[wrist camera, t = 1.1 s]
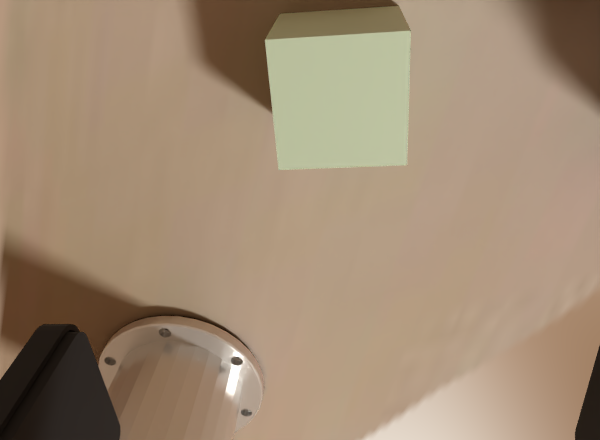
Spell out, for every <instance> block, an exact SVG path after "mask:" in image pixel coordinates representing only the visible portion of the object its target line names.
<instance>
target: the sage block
mask: <svg viewBox="0 0 600 440" xmlns="http://www.w3.org/2000/svg"><path fill="white" fill-rule="evenodd" d="M410 43H411V30H410V28H409V26H408V24H407V22H406V20H405V18H404V16H403V13H402V11H401V9H400V7H399V6H386V7H371V8H356V9H341V10H326V11H312V12H297V13H282V14H279V16H278V18H277V19H276V21H275V23H274V25H273V26H272V28H271V30H270V32H269V33H268V35H267V37H266V39H265V47H266V56H267V65H268V75H269V84H270V94H271V103H272V112H273V122H274V131H275V141H276V150H277V159H278V169H279V170H292V169H319V168H346V167H373V166H399V165H407V151H408V115H409V79H410Z"/></svg>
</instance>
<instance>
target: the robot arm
mask: <svg viewBox="0 0 600 440" xmlns="http://www.w3.org/2000/svg"><path fill="white" fill-rule="evenodd" d="M263 389H264V381H263V374H262V371H261V369H260V366H259V364H258V362H257V360H256V359H255V357H254V356H253V355H252V353H251V352H250V350H248V349H247V348H246V347H245V346H244V345H243V344H242V343H241V342H240V341H239V340H238V339H236V338H235V337H233V336H232V335H230V334H229V333H228V332H226V331H224V330H222V329H220V328H218V327H216V326H214V325H212V324H209V323H206V322H203V321H199V320H196V319H191V318H186V317H180V316H157V317H149V318H144V319H141V320H138V321H135V322H132V323H130V324H128V325H126V326H125V327H123V328H121V329H120V330H119V331H118V332H116V333H115V334H114V335H113V336H112V337H111V339H110V340H109V342H108V343H107V345H106V346H105V348H104V350H103V352H102V354H101V356H100V359H99V364H97V362H96V359H95V356H94V354H93V351H92V348H91V346H90V343H89V340H88V338H87V336H86V334H85V333H84V332H79V330H78V328H77V327H76V326H75V325H73V324H44V325H41V326H40V327H39V328H38V329H37V330H36V331H35V332H34V334H33V335H32V336H31V338H30V339H29V341H28V342H27V343H26V345H25V346H24V348H23V349H22V350H21V352H20V353H19V355H18V356H17V357H16V359H15V360H14V362H13V363H12V364H11V366H10V367H9V369H8V370H7V371H6V373H5V374H4V376H3V377H2V378H1V380H0V440H233V437H234V433H235V432H237V431H239V430H240V429H242V428H243V427H245V426H246V425H247V424H248V423H249V422H250V421H251V420H252V419H253V418H254V417H255V416H256V414H257V412H258V410H259V409H260V405H261V402H262V397H263ZM575 440H600V346H599V350H598V353H597V357H596V360H595V364H594V367H593V371H592V374H591V378H590V381H589V385H588V388H587V392H586V395H585V399H584V403H583V406H582V409H581V413H580V417H579V420H578V423H577V427H576V432H575Z"/></svg>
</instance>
